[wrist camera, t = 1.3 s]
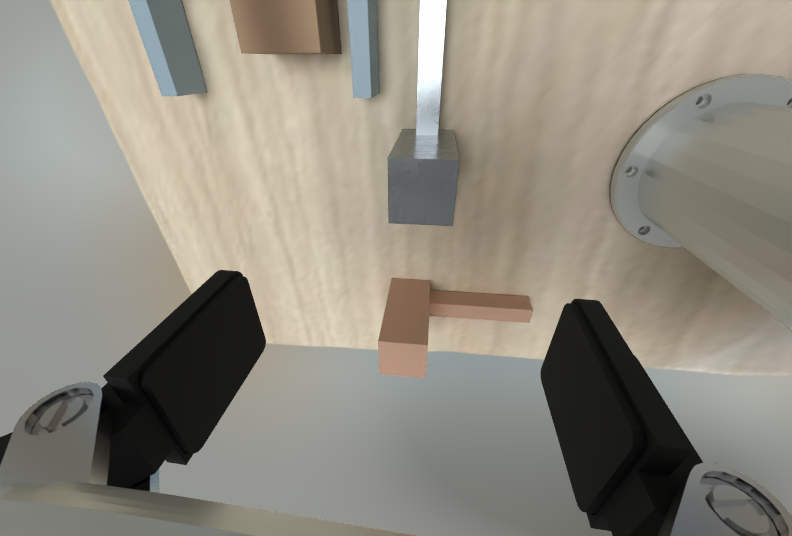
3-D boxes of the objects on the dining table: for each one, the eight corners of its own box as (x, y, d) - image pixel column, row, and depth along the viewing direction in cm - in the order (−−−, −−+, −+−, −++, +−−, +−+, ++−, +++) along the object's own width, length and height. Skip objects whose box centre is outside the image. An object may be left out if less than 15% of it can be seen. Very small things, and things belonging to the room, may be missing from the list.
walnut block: (334, -40, 21) (307, -65, 17) (341, 53, 23) (320, 52, 19) (260, -37, 21) (216, -61, 17) (275, 54, 24) (241, 53, 20)
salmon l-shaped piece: (392, 307, 36) (379, 373, 28) (391, 278, 34) (378, 341, 26) (522, 316, 34) (545, 388, 27) (530, 286, 32) (558, 355, 25)
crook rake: (521, 182, 27) (553, 230, 19) (402, 178, 28) (388, 223, 20) (581, -97, 18) (681, -206, 11) (404, -88, 19) (382, -184, 12)
